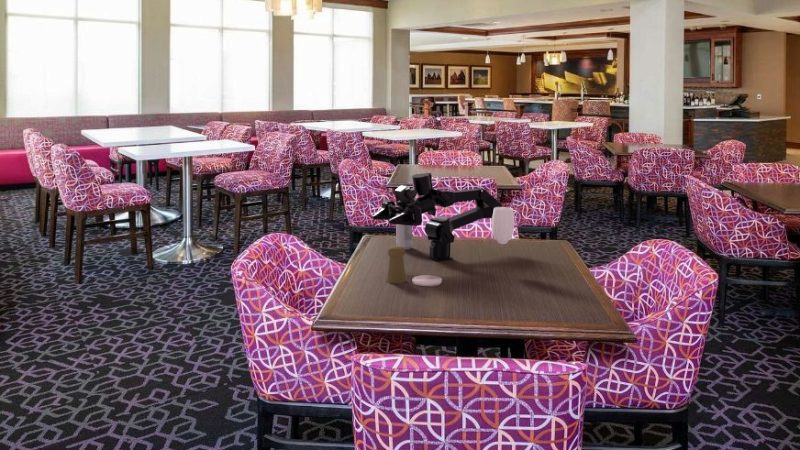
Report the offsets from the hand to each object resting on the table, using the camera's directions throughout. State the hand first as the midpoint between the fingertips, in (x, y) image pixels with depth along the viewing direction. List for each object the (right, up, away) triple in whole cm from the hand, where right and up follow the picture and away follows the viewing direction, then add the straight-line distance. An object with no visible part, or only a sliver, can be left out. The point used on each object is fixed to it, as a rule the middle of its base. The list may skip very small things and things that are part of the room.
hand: (380, 219), depth 218 cm
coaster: (+14, -19, -13) cm, 27 cm away
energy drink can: (+8, -11, +34) cm, 36 cm away
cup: (+39, -17, +1) cm, 43 cm away
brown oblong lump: (+5, -19, -11) cm, 23 cm away
